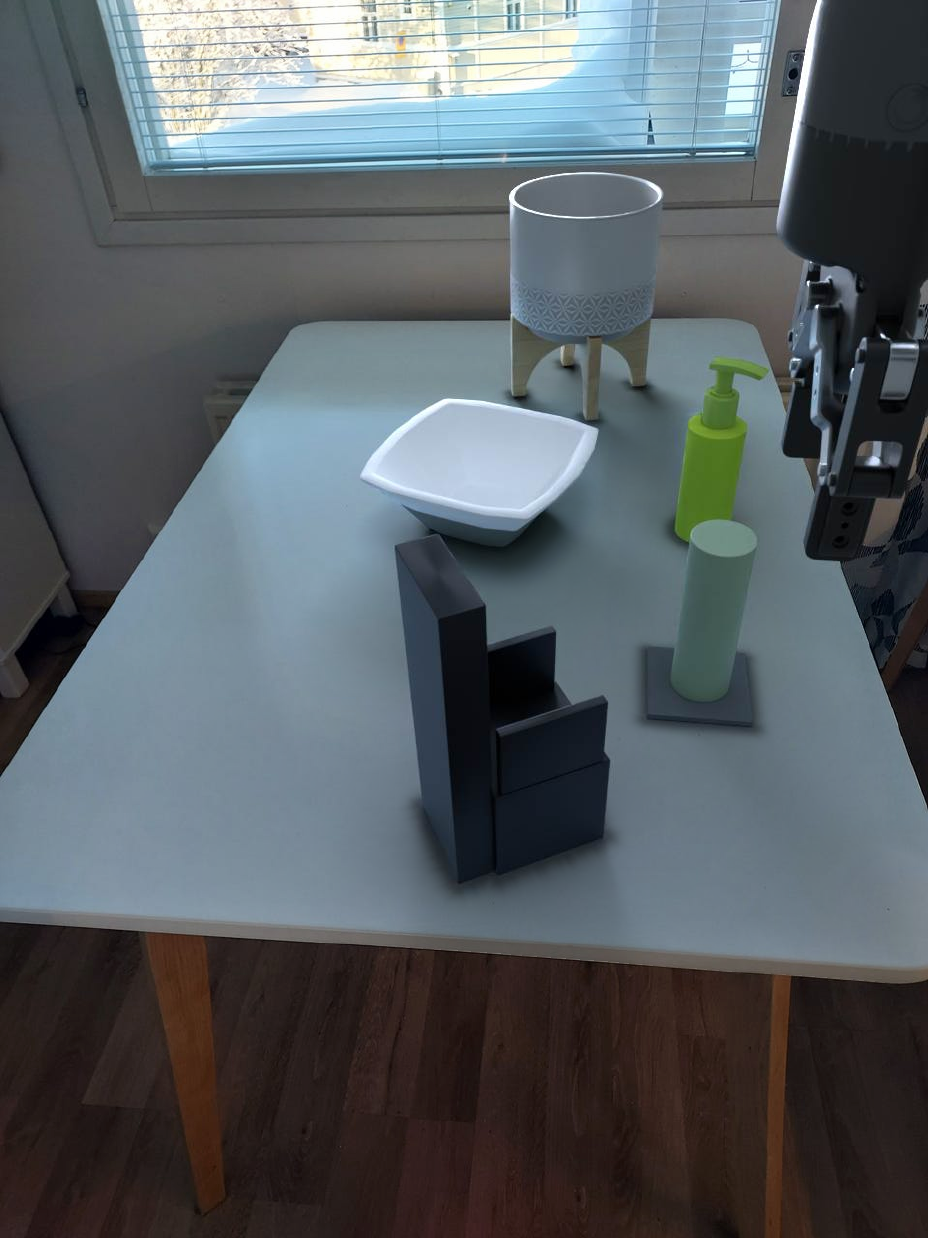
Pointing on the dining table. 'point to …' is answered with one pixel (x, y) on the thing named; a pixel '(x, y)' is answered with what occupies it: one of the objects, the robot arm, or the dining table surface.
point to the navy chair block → (494, 727)
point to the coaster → (675, 707)
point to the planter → (583, 274)
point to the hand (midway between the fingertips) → (815, 501)
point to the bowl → (480, 467)
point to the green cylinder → (712, 608)
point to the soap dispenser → (714, 450)
